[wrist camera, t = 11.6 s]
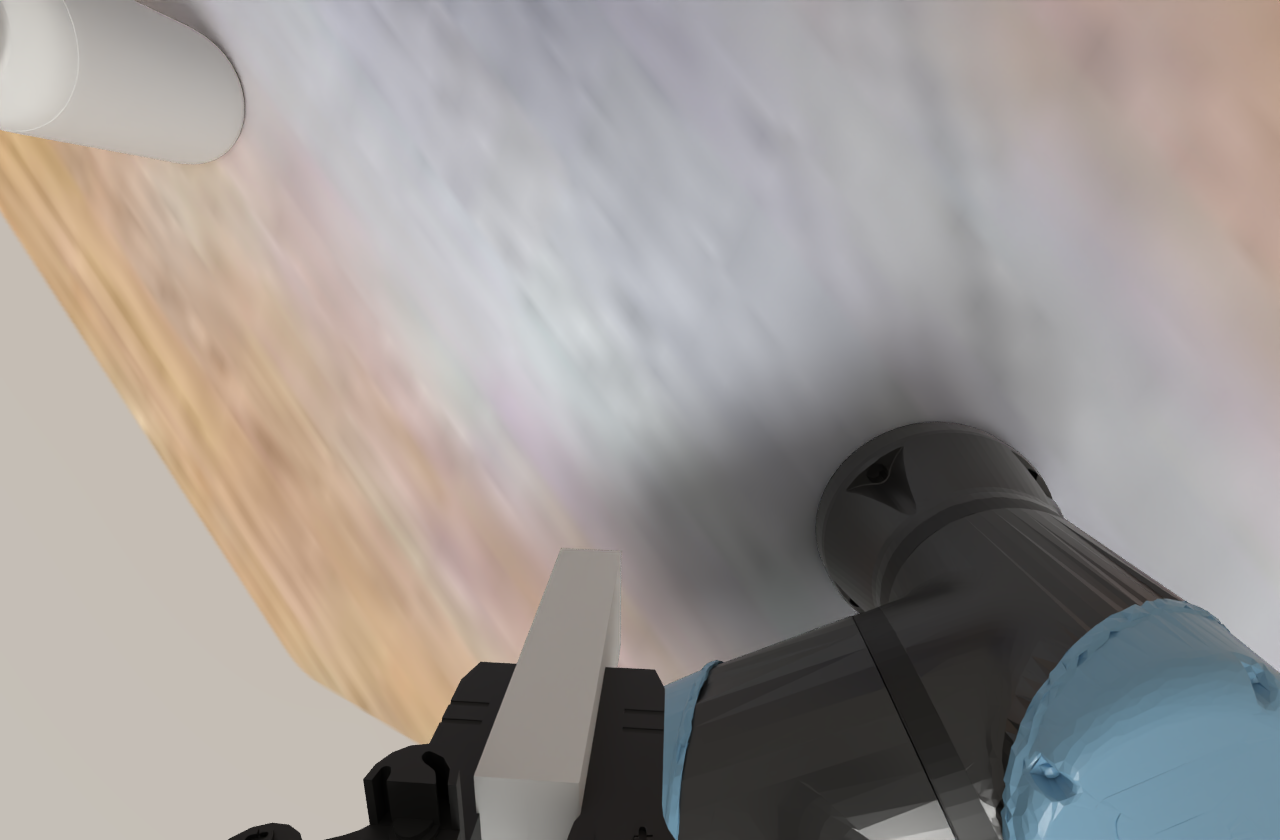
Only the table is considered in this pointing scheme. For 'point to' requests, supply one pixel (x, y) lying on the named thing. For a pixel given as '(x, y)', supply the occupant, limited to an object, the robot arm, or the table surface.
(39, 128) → the pill bottle
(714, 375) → the table surface
